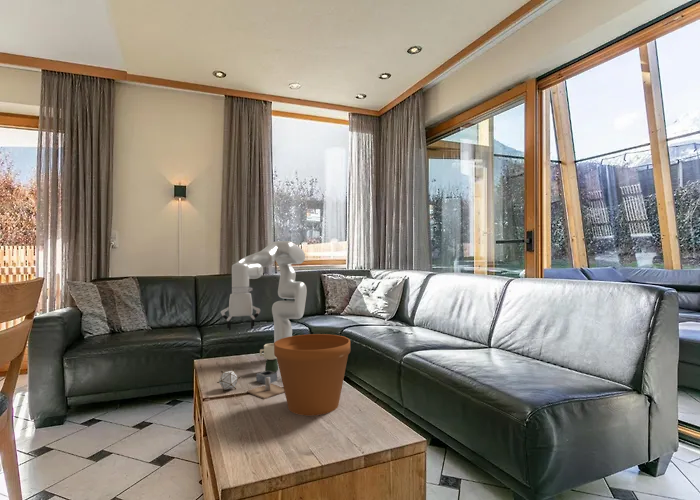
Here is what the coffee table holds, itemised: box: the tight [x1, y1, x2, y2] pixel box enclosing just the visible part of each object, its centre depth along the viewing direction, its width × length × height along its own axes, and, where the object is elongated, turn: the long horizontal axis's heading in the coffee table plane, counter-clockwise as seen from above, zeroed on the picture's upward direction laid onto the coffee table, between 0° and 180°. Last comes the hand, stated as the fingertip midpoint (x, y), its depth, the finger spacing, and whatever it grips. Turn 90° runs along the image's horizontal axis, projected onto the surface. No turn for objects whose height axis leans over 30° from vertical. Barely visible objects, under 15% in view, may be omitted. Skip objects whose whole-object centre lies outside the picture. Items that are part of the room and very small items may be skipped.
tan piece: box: [246, 377, 285, 400], centre depth 160 cm, size 12×12×6 cm
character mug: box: [259, 342, 279, 373], centre depth 188 cm, size 11×7×13 cm, turn 109°
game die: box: [216, 368, 241, 392], centre depth 164 cm, size 9×8×10 cm
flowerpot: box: [273, 333, 352, 417], centre depth 145 cm, size 28×28×24 cm
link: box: [255, 370, 278, 385], centre depth 174 cm, size 6×6×4 cm
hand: (240, 328), depth 176 cm, fingers open, 9 cm apart
